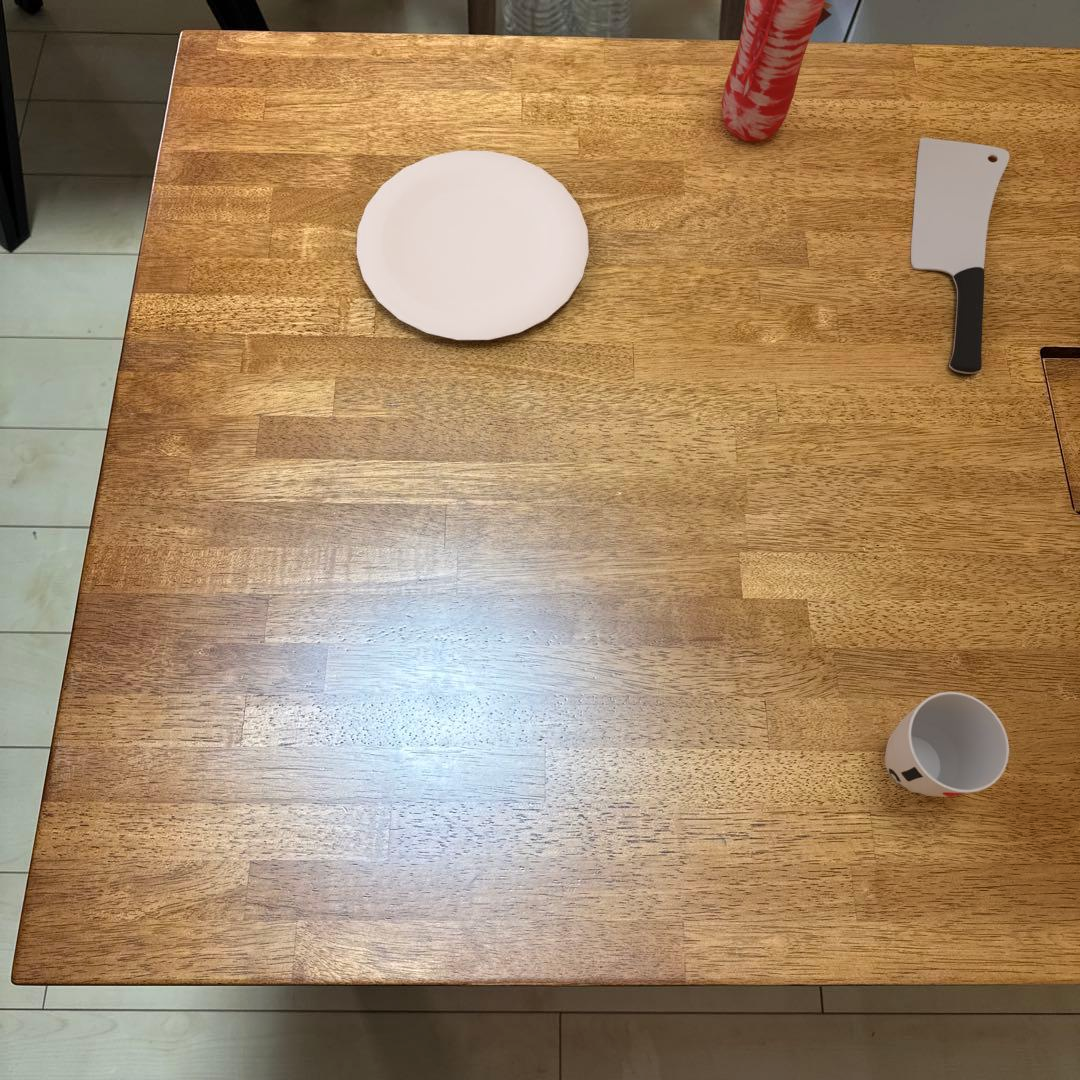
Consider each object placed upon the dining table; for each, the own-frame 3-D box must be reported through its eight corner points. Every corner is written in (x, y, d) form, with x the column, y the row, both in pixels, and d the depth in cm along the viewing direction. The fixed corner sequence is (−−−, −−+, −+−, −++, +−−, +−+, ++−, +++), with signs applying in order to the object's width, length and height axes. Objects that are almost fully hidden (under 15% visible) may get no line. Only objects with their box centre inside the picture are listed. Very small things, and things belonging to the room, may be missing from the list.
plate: (369, 361, 105) (367, 352, 103) (347, 171, 114) (345, 160, 113) (607, 333, 107) (608, 324, 106) (567, 148, 116) (568, 137, 115)
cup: (857, 787, 90) (898, 769, 81) (880, 704, 93) (921, 677, 84) (946, 822, 89) (997, 808, 80) (966, 737, 92) (1018, 713, 83)
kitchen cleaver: (921, 132, 118) (1012, 141, 116) (918, 143, 119) (1007, 152, 118) (896, 358, 106) (996, 372, 105) (892, 367, 108) (990, 381, 106)
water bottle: (758, 70, 122) (817, -137, 98) (813, 104, 120) (886, -98, 97) (697, 128, 118) (744, -73, 95) (753, 165, 116) (814, -31, 93)
